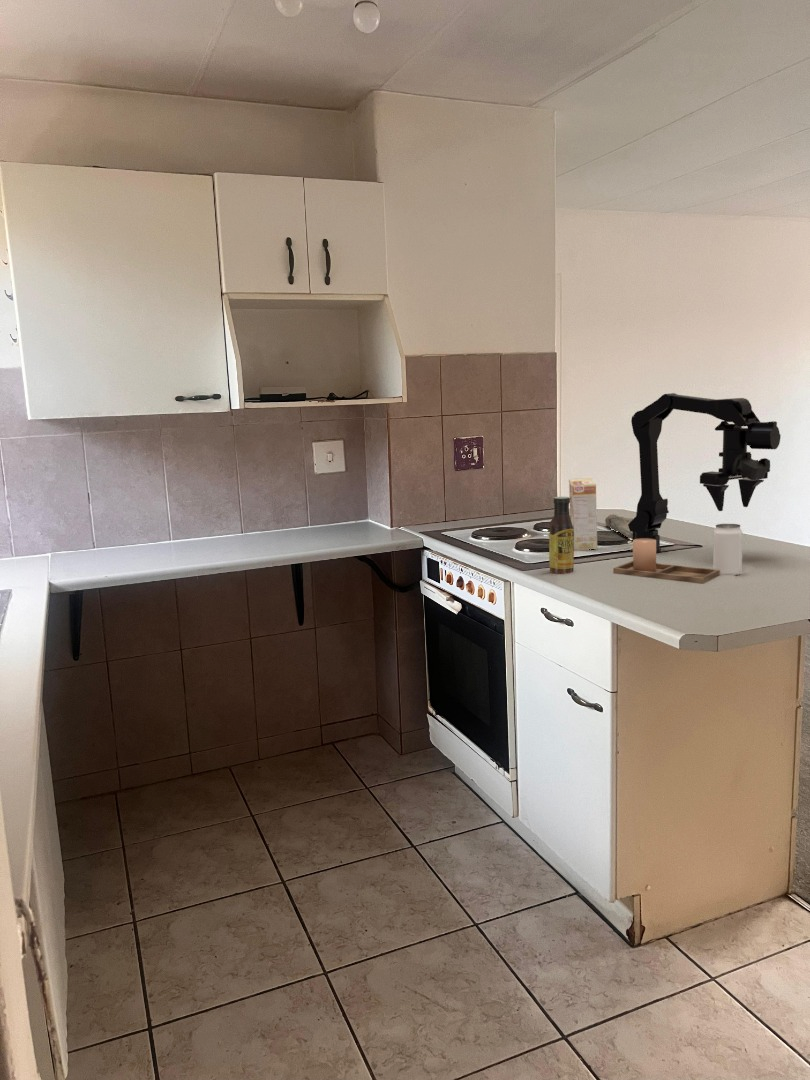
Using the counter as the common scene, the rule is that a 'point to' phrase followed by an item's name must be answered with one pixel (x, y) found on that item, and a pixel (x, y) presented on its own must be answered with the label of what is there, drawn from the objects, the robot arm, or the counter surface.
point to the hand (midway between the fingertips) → (732, 508)
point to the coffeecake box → (583, 513)
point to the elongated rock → (619, 524)
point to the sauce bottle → (561, 538)
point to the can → (728, 549)
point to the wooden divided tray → (671, 572)
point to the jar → (644, 554)
